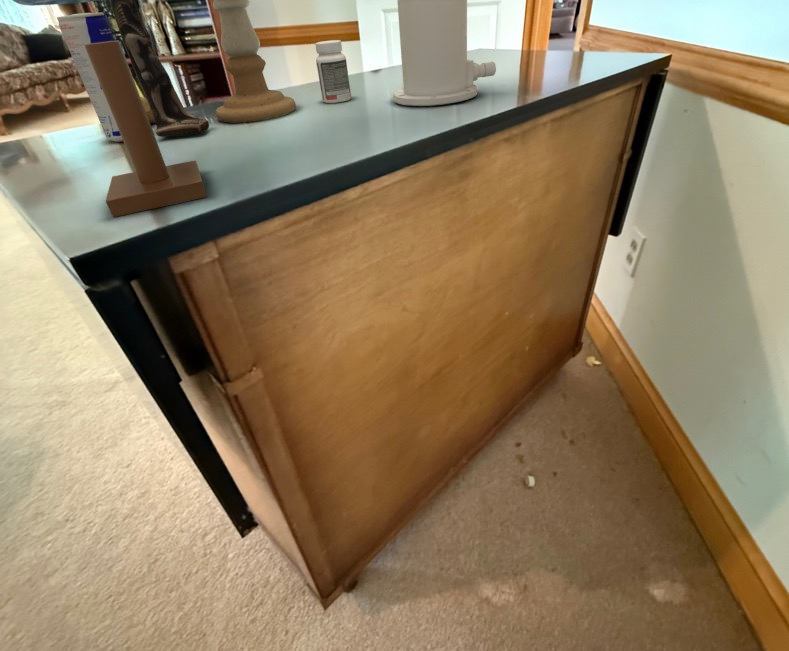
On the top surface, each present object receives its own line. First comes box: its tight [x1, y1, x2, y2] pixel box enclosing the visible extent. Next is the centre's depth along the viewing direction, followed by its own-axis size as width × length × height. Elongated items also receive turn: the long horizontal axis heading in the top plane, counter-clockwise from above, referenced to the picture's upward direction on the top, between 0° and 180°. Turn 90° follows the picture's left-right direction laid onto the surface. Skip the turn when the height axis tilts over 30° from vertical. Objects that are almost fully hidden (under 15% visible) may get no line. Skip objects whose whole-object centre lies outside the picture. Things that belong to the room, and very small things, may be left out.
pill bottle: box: [314, 39, 352, 104], centre depth 74 cm, size 5×5×8 cm
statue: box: [108, 0, 210, 138], centre depth 59 cm, size 4×7×20 cm, turn 95°
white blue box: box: [56, 12, 124, 143], centre depth 63 cm, size 6×6×15 cm
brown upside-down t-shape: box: [84, 40, 208, 218], centre depth 41 cm, size 8×8×12 cm
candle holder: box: [212, 0, 297, 124], centre depth 68 cm, size 12×12×20 cm
